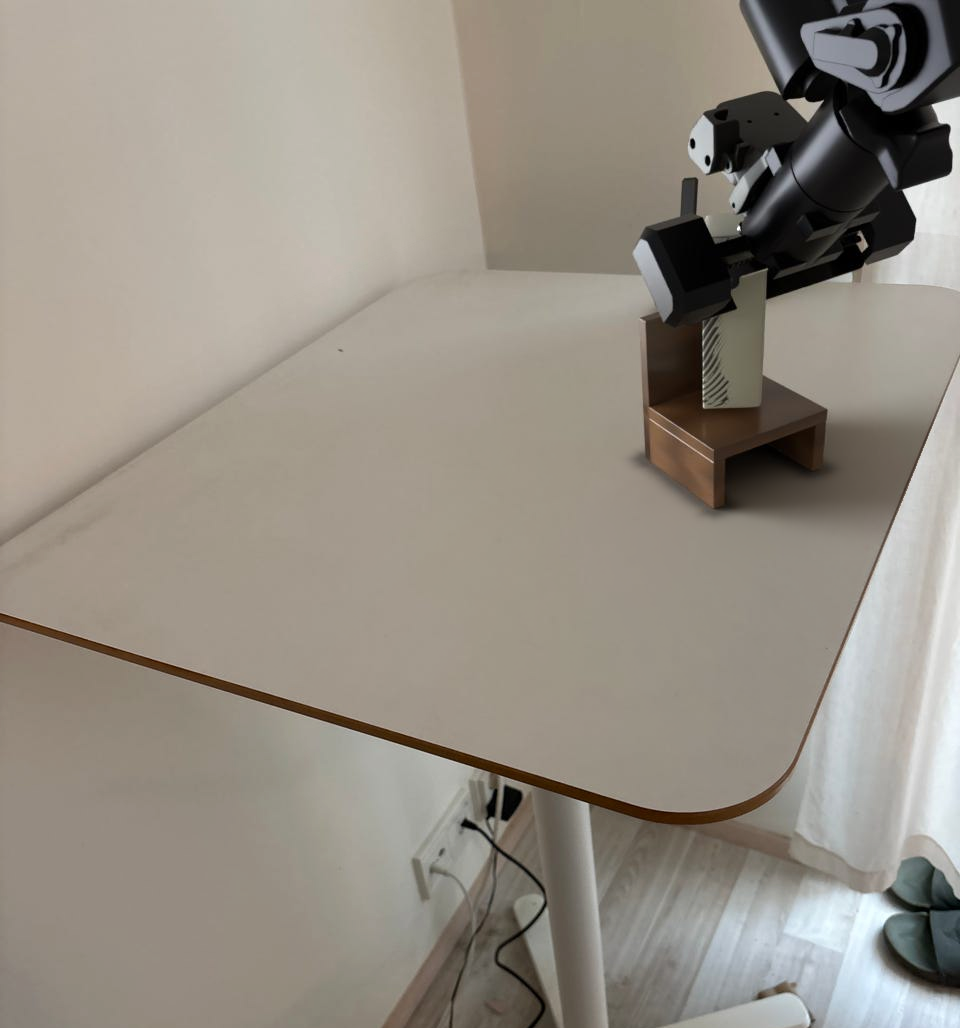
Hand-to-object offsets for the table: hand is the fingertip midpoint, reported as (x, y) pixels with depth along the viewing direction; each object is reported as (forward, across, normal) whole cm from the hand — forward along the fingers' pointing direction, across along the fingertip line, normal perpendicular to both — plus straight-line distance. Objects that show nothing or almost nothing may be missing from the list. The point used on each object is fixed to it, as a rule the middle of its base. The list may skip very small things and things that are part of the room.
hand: (724, 306), depth 70 cm
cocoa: (+29, -15, -12) cm, 35 cm away
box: (+4, 0, +6) cm, 7 cm away
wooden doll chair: (+8, 0, +10) cm, 13 cm away
